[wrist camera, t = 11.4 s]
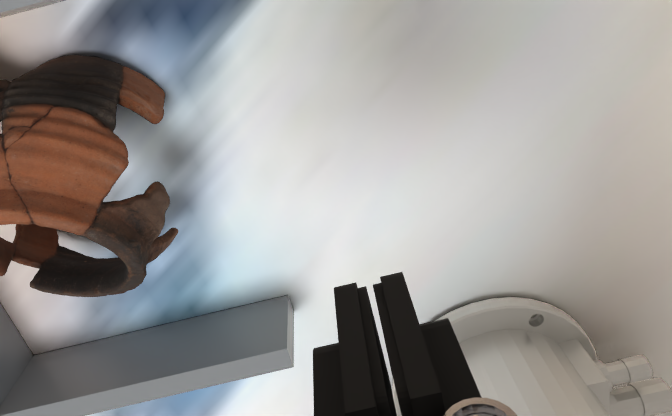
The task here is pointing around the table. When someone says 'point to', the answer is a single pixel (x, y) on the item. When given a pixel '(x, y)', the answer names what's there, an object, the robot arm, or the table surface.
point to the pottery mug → (77, 176)
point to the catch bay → (141, 352)
